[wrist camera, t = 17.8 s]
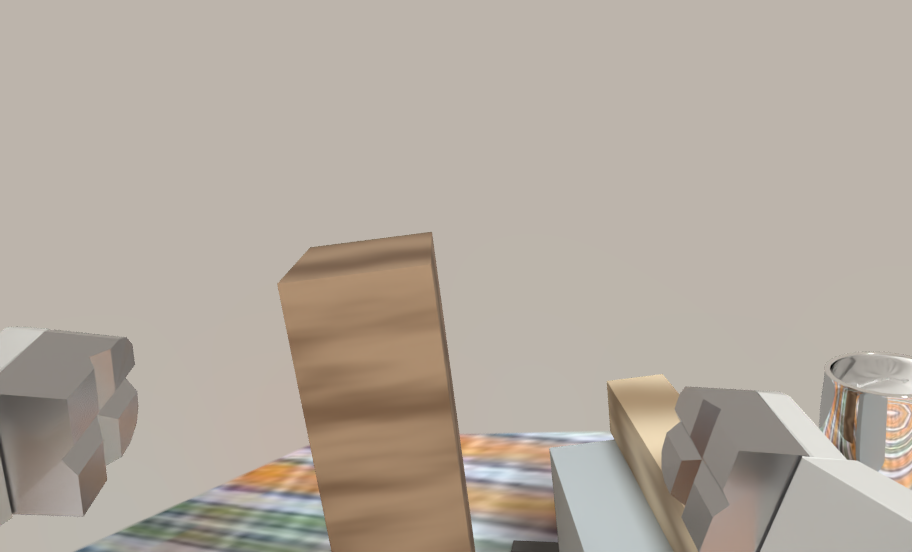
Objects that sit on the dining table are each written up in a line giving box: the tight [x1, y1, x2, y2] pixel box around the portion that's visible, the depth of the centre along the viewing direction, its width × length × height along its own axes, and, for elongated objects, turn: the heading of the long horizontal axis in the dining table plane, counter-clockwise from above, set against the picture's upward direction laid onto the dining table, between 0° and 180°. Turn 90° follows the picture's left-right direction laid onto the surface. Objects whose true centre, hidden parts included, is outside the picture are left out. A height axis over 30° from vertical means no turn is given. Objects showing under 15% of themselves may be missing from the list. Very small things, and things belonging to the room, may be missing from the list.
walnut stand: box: [278, 232, 475, 552], centre depth 41 cm, size 9×8×26 cm
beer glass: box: [819, 352, 912, 490], centre depth 41 cm, size 7×7×15 cm
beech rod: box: [607, 374, 698, 552], centre depth 25 cm, size 20×3×3 cm, turn 1°
